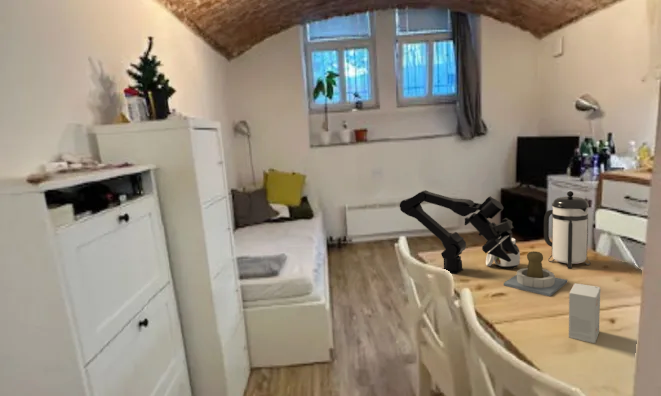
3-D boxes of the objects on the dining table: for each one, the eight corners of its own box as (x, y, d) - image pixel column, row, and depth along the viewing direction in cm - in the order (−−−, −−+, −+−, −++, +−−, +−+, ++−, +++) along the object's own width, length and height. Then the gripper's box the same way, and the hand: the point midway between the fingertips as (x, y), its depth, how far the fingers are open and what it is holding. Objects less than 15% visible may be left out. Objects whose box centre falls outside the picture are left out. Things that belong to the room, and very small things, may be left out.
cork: (548, 282, 144) (548, 252, 143) (535, 285, 142) (535, 255, 141) (534, 277, 150) (534, 248, 148) (522, 280, 148) (521, 251, 146)
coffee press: (590, 258, 167) (592, 188, 163) (590, 271, 154) (592, 194, 150) (543, 254, 177) (544, 187, 172) (540, 266, 164) (540, 193, 159)
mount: (503, 285, 147) (503, 275, 146) (522, 273, 157) (522, 263, 157) (550, 296, 135) (550, 285, 134) (567, 282, 145) (567, 272, 145)
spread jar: (523, 268, 162) (523, 240, 160) (498, 273, 160) (498, 244, 158) (503, 260, 174) (503, 234, 172) (480, 264, 171) (480, 237, 169)
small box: (573, 325, 115) (574, 282, 113) (599, 331, 111) (601, 286, 109) (567, 337, 109) (568, 292, 107) (595, 344, 105) (596, 297, 103)
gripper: (490, 217, 143) (523, 251, 138) (506, 208, 157) (536, 238, 152) (469, 236, 149) (500, 269, 144) (486, 225, 164) (514, 255, 158)
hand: (513, 257), depth 150 cm, fingers open, 9 cm apart
